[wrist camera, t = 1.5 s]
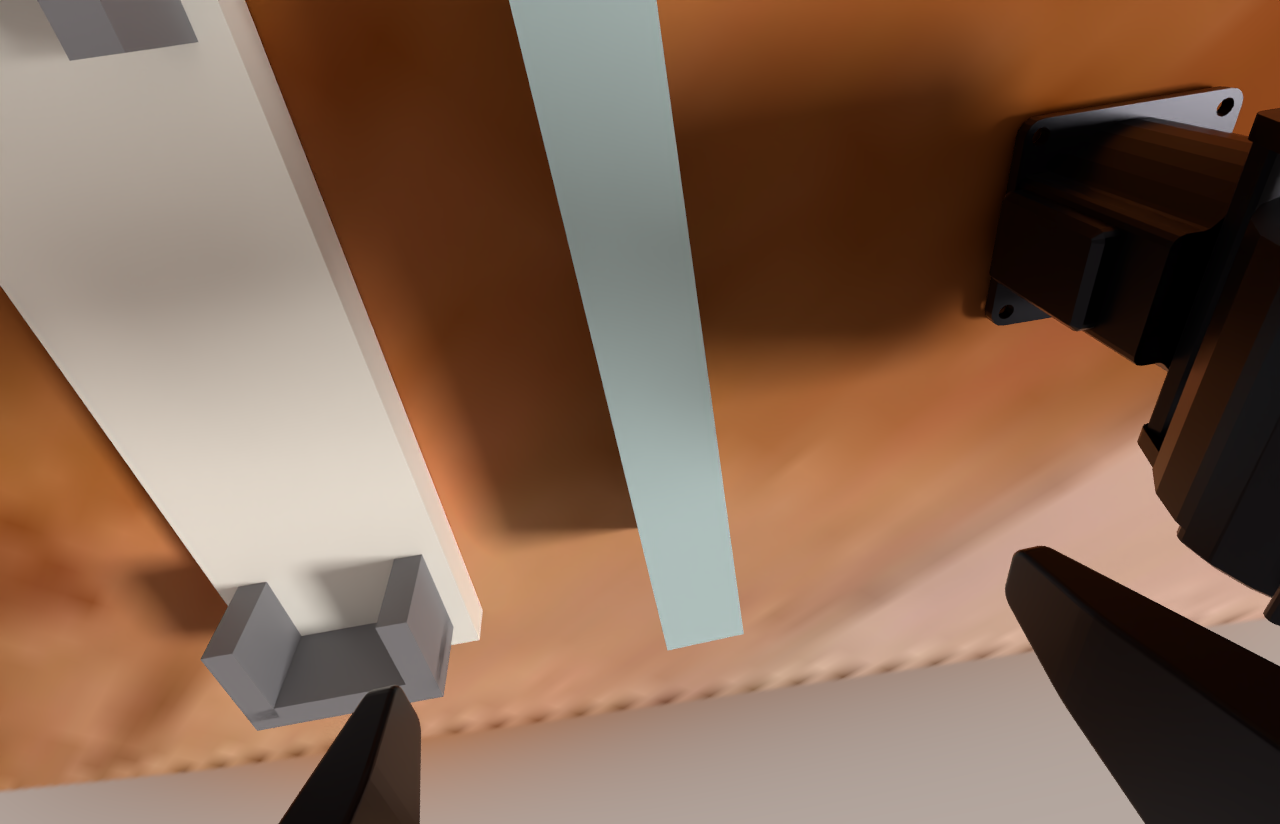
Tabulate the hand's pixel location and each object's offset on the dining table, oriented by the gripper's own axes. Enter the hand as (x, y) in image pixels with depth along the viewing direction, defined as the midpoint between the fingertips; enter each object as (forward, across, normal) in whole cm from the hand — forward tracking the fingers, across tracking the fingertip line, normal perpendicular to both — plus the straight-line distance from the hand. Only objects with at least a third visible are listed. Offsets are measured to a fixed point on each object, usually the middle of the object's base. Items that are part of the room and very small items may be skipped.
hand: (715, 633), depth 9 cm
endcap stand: (+13, +12, 0) cm, 18 cm away
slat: (+13, 0, 0) cm, 13 cm away
